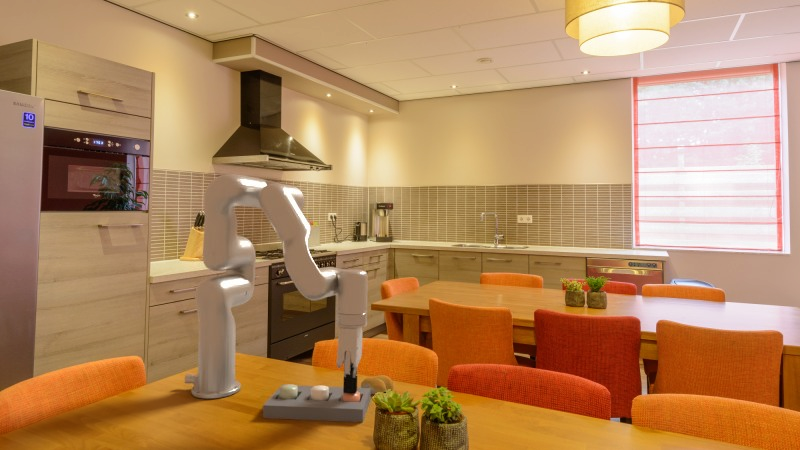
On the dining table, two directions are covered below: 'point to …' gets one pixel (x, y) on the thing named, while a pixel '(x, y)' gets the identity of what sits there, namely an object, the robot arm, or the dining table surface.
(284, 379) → the dining table surface
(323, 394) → the white button
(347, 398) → the terracotta button
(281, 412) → the button panel
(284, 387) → the sage button
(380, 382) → the bread roll
